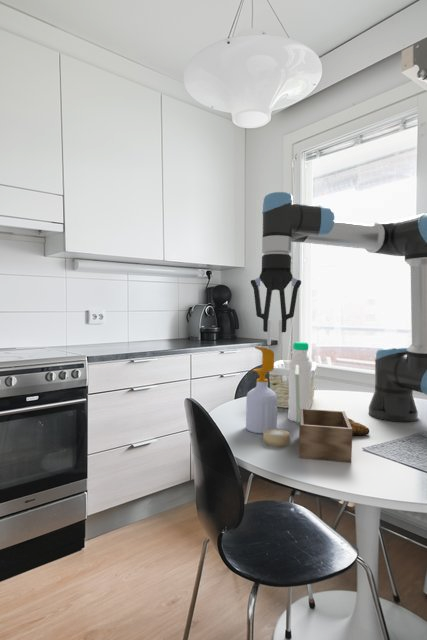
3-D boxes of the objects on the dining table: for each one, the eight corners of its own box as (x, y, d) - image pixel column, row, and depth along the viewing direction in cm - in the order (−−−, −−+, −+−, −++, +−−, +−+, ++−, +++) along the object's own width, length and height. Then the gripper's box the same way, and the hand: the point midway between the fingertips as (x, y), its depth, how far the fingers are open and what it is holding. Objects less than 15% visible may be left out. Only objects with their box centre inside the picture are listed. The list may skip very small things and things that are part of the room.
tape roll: (289, 438, 111) (290, 430, 111) (289, 447, 104) (289, 438, 104) (264, 436, 112) (264, 428, 112) (262, 445, 106) (262, 436, 106)
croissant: (322, 436, 114) (322, 418, 114) (319, 428, 121) (320, 412, 120) (372, 439, 112) (372, 421, 112) (366, 431, 119) (367, 415, 118)
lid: (298, 364, 112) (295, 364, 112) (299, 374, 97) (294, 374, 97) (300, 409, 112) (296, 409, 113) (300, 425, 97) (296, 425, 97)
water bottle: (310, 423, 125) (312, 343, 124) (287, 422, 127) (289, 343, 126) (309, 417, 132) (311, 341, 131) (288, 415, 134) (289, 341, 133)
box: (343, 440, 111) (344, 411, 110) (351, 462, 95) (352, 429, 95) (299, 436, 113) (299, 408, 113) (299, 457, 97) (300, 425, 97)
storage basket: (276, 394, 167) (277, 358, 166) (316, 397, 162) (317, 360, 161) (266, 408, 144) (267, 367, 143) (313, 412, 139) (314, 370, 138)
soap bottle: (239, 428, 119) (241, 346, 118) (259, 422, 126) (260, 344, 124) (263, 436, 113) (265, 349, 112) (282, 429, 119) (284, 347, 118)
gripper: (306, 256, 107) (304, 344, 108) (249, 256, 110) (247, 342, 111) (306, 252, 99) (304, 347, 100) (245, 253, 102) (243, 345, 103)
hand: (274, 344), depth 105 cm, fingers open, 2 cm apart
